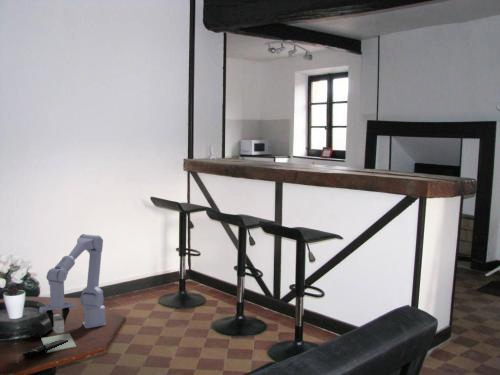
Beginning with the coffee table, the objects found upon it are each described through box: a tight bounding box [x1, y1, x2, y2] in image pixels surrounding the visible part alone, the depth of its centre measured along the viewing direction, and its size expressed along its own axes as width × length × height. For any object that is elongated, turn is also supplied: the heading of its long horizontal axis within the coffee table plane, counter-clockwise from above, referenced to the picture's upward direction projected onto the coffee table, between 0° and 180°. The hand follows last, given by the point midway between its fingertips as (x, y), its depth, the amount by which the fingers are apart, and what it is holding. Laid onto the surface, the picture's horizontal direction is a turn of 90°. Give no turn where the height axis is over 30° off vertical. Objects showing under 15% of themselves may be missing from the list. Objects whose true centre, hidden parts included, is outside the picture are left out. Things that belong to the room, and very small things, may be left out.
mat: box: [40, 333, 77, 353], centre depth 222 cm, size 12×16×1 cm
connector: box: [52, 313, 65, 334], centre depth 220 cm, size 4×13×5 cm, turn 30°
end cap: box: [31, 316, 53, 338], centre depth 233 cm, size 10×7×7 cm
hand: (58, 325), depth 221 cm, fingers closed on connector, 4 cm apart
